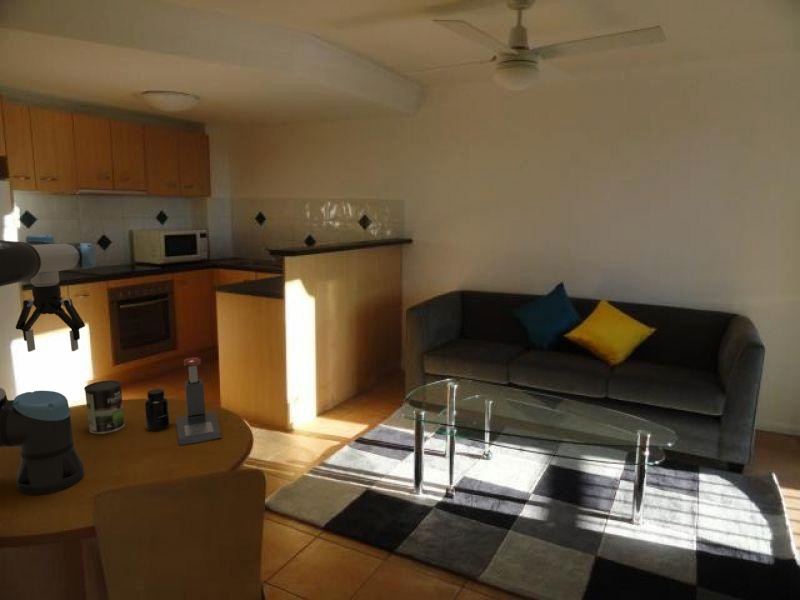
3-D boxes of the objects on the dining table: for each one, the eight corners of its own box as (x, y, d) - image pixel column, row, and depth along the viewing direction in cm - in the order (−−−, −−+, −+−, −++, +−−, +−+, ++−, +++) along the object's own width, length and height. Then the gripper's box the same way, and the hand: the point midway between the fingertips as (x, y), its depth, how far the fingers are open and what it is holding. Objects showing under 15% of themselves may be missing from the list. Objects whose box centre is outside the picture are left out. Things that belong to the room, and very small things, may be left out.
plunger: (203, 398, 183) (201, 360, 180) (187, 400, 181) (184, 362, 179) (202, 393, 187) (199, 356, 185) (186, 395, 185) (183, 358, 183)
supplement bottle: (164, 431, 180) (161, 395, 178) (142, 431, 180) (139, 395, 178) (173, 422, 187) (170, 387, 184) (152, 422, 187) (149, 387, 184)
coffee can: (132, 422, 187) (128, 381, 184) (110, 435, 177) (105, 392, 174) (104, 420, 189) (100, 379, 186) (81, 432, 179) (76, 389, 176)
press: (221, 438, 175) (218, 395, 172) (179, 445, 170) (175, 400, 167) (215, 417, 191) (212, 377, 188) (176, 423, 186) (173, 381, 184)
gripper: (92, 282, 183) (98, 346, 187) (12, 282, 182) (20, 347, 186) (80, 285, 175) (87, 353, 179) (-4, 286, 175) (5, 354, 179)
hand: (53, 350), depth 183 cm, fingers open, 13 cm apart
